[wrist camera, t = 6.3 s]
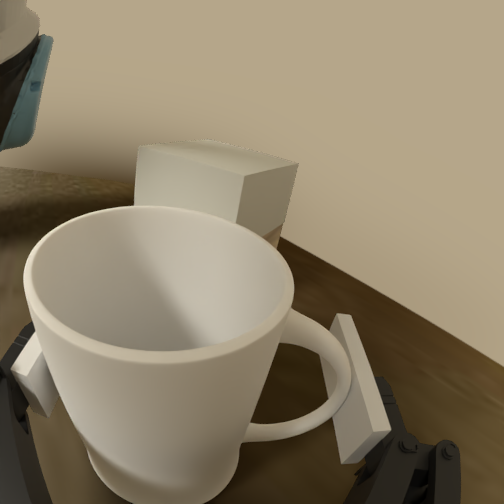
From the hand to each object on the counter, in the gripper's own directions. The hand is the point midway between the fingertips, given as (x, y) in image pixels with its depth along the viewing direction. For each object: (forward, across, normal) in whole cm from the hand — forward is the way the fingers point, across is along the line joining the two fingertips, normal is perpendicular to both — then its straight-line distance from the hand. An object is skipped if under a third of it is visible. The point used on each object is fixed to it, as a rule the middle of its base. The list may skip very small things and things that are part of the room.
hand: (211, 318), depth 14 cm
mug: (-4, 0, -7) cm, 8 cm away
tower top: (+15, -1, -1) cm, 15 cm away
